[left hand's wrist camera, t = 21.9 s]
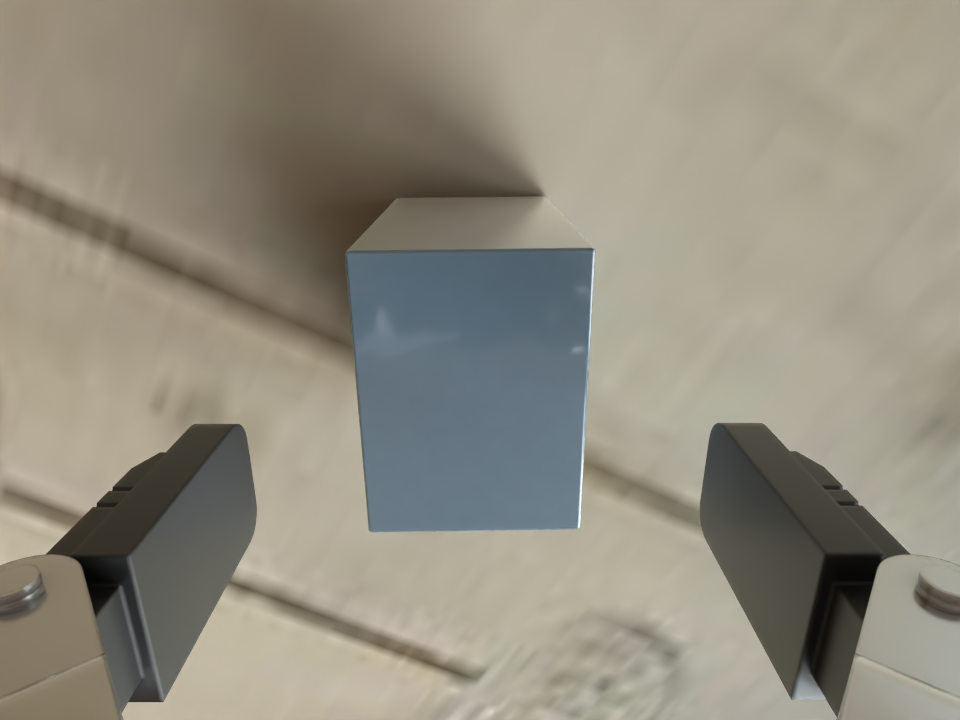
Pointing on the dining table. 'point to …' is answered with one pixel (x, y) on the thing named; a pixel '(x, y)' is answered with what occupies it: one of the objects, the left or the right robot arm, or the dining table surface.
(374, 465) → the block
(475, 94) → the dining table surface
